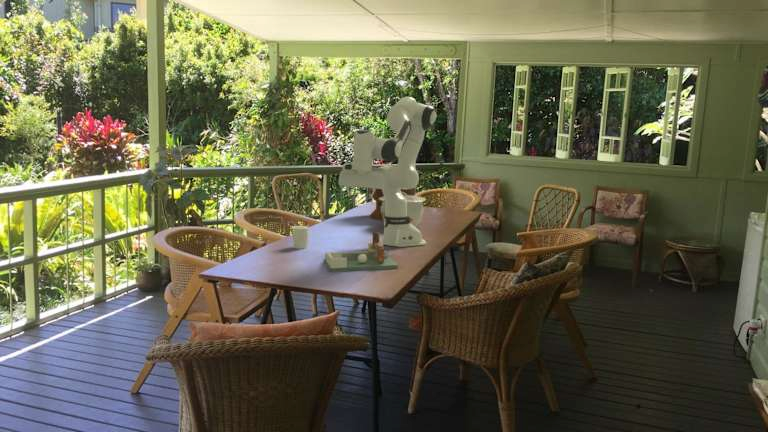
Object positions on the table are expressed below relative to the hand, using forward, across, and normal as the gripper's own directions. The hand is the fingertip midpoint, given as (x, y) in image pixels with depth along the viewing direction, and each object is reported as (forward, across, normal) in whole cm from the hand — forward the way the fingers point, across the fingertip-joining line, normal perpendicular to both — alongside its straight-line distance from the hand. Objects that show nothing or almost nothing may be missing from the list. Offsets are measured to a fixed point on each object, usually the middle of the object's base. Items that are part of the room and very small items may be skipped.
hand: (360, 197), depth 279 cm
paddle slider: (+25, -10, +9) cm, 29 cm away
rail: (+26, -1, +7) cm, 27 cm away
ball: (+24, -4, +14) cm, 29 cm away
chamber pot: (+26, -20, -82) cm, 88 cm away
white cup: (+30, +29, -22) cm, 47 cm away
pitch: (+28, -3, +12) cm, 31 cm away
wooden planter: (+26, -13, -118) cm, 121 cm away
